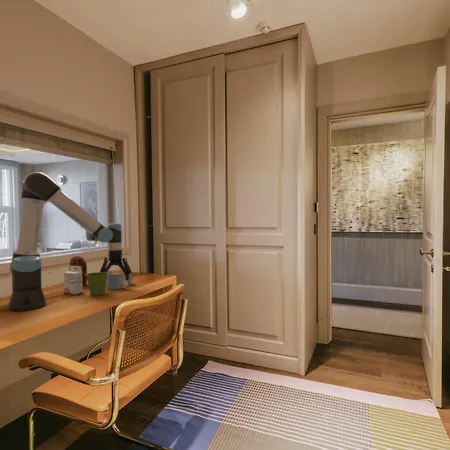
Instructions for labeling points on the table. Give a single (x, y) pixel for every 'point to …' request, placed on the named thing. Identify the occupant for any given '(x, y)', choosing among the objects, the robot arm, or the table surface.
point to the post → (129, 281)
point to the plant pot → (97, 282)
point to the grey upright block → (115, 281)
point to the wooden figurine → (80, 262)
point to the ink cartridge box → (73, 280)
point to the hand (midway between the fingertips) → (116, 285)
